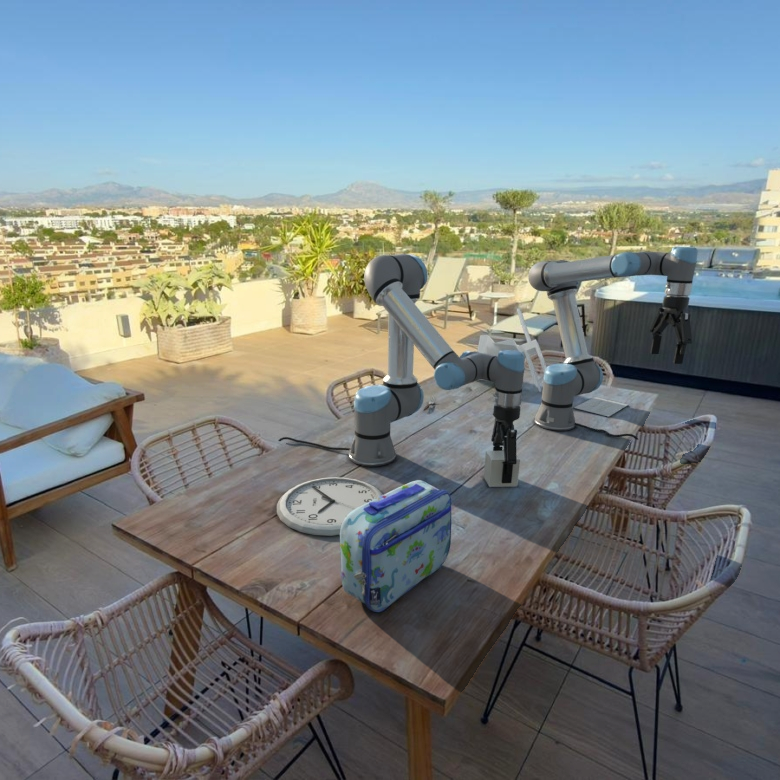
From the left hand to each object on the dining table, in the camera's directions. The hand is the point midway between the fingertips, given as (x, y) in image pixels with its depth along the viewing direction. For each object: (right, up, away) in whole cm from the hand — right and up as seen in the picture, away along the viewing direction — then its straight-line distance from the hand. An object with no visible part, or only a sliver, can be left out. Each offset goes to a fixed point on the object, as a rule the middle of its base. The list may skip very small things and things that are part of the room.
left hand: (501, 474), depth 157 cm
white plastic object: (+22, +27, +97) cm, 103 cm away
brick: (0, -2, +1) cm, 2 cm away
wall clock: (-49, -6, -14) cm, 52 cm away
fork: (-17, +18, +66) cm, 70 cm away
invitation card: (+58, +18, +69) cm, 92 cm away
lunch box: (-32, -16, -45) cm, 57 cm away
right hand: (+60, +36, +21) cm, 73 cm away
